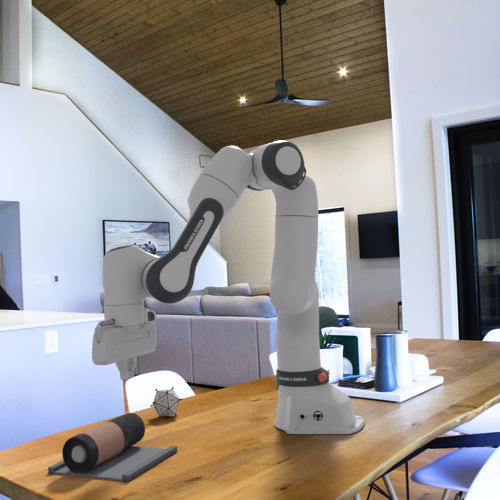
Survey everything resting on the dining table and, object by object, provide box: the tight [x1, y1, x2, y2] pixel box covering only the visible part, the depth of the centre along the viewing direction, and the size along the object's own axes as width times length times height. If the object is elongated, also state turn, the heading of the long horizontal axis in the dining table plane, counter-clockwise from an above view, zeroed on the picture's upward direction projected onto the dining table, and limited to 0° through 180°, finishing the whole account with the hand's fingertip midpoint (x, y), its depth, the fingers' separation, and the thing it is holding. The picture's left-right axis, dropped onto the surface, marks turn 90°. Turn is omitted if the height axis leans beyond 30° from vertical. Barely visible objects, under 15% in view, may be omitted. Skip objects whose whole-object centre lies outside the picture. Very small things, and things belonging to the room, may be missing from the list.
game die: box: [149, 386, 183, 420], centre depth 163 cm, size 9×8×10 cm
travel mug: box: [61, 412, 146, 473], centre depth 127 cm, size 8×8×20 cm
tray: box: [47, 445, 178, 483], centre depth 126 cm, size 20×19×1 cm
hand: (127, 378), depth 130 cm, fingers closed
